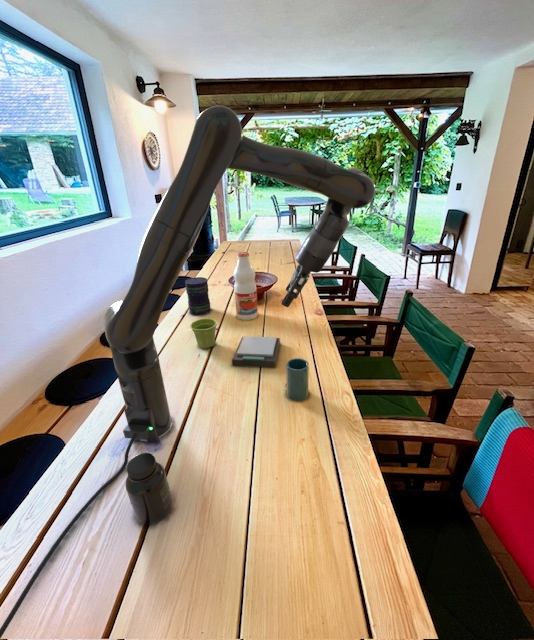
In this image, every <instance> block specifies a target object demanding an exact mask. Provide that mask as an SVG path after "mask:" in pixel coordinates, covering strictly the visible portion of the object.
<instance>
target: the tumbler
mask: <svg viewBox="0 0 534 640" xmlns="http://www.w3.org/2000/svg"><path fill="white" fill-rule="evenodd" d="M309 368H310V364H309V362H308V361H307V360H306V359H304V358H297V357H295V358H290V359H289V360H287V362H286V363H285V375H286V376H285V377H286V381H285V382H286V384H285V385H286V396H287V398H288V399H289V400H290V401H294V402H302V401H305V400H306V399H307V398H308V397H309V376H310V375H309V373H310V372H309V371H310V369H309Z"/></svg>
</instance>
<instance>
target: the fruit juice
mask: <svg viewBox="0 0 534 640" xmlns="http://www.w3.org/2000/svg"><path fill="white" fill-rule="evenodd" d="M236 256H237V261H236V265H235V268H234V270H233V275H232V276H233V279H234V285H233V291H234V301H235V302H234V303H235V315H236V318H237V319H239V320H243V321H249V320H254V319H256V318H257V317H258V315H259V312H258V294H257V293H258V291H257V284H256V281H255V279H256V270H255V269H254V267H253V265H252V264H251V261H250V253H249V252H248V251H238V252H237V253H236Z"/></svg>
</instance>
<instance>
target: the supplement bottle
mask: <svg viewBox="0 0 534 640" xmlns="http://www.w3.org/2000/svg"><path fill="white" fill-rule="evenodd" d="M126 472H127V477H126V479H125V490H126V493H127V496H128V499H129V501H130V504H131V507H132V510H133V513H134V516H135V518H136V520H137V521H138V522H139V523H140V524H142V525H146V526H148V525H154V524H158V523H159V522H162V521H163V520H164V519H165V518H166V517H167V516H168V514H169V513H170V511H171V510H172V507H173V496H172V492H171V489H170V485H169V481H168V477H167V474H166V470H165V467H164V466H163V465H162V464H160V463H159V462H157V459H156V457H155V455H154V454H153V453H150V452H142V453H139V454H136V455H134V456H133V457H132V458H131V459H130V460H128V462H127V465H126Z"/></svg>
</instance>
